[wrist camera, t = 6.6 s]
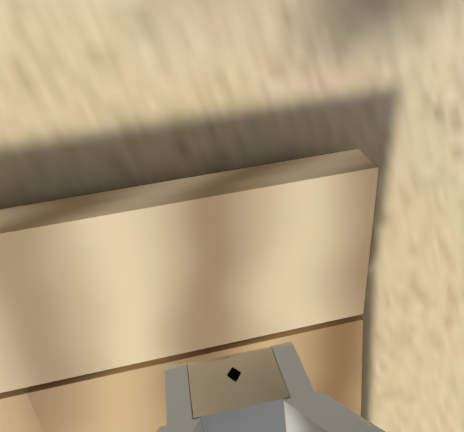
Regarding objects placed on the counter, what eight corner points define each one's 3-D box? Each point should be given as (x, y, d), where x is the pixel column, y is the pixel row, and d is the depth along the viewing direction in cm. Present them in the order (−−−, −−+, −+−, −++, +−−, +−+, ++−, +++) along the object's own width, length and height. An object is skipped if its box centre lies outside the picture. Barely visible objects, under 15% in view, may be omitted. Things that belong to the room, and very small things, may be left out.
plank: (358, 148, 16) (378, 167, 15) (347, 289, 20) (363, 314, 19) (-382, 273, 14) (-437, 310, 12) (-233, 410, 17) (-262, 450, 16)
